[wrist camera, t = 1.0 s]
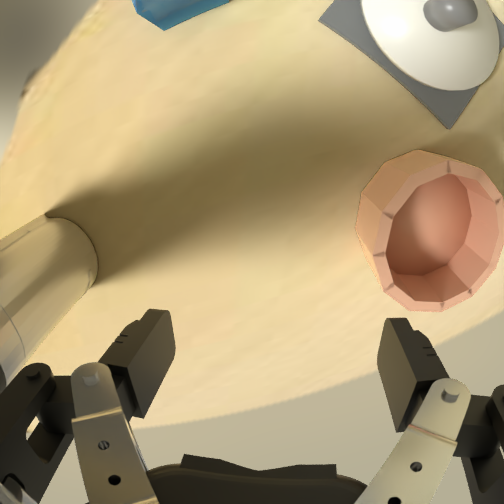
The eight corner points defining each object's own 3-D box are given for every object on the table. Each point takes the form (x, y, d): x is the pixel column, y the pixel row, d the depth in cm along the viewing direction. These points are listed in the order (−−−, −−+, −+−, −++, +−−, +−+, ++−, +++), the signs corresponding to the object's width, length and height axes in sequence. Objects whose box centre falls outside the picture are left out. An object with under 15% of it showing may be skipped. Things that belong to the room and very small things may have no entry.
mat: (318, 20, 21) (319, 18, 21) (397, -66, 16) (399, -69, 15) (447, 128, 24) (450, 129, 24) (507, 34, 19) (510, 33, 18)
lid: (327, 18, 21) (340, -4, 16) (401, -64, 16) (422, -89, 10) (449, 121, 23) (484, 126, 18) (506, 32, 18) (540, 26, 13)
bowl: (329, 232, 29) (341, 260, 24) (414, 122, 24) (445, 126, 19) (417, 299, 31) (437, 333, 26) (491, 209, 27) (524, 229, 21)
